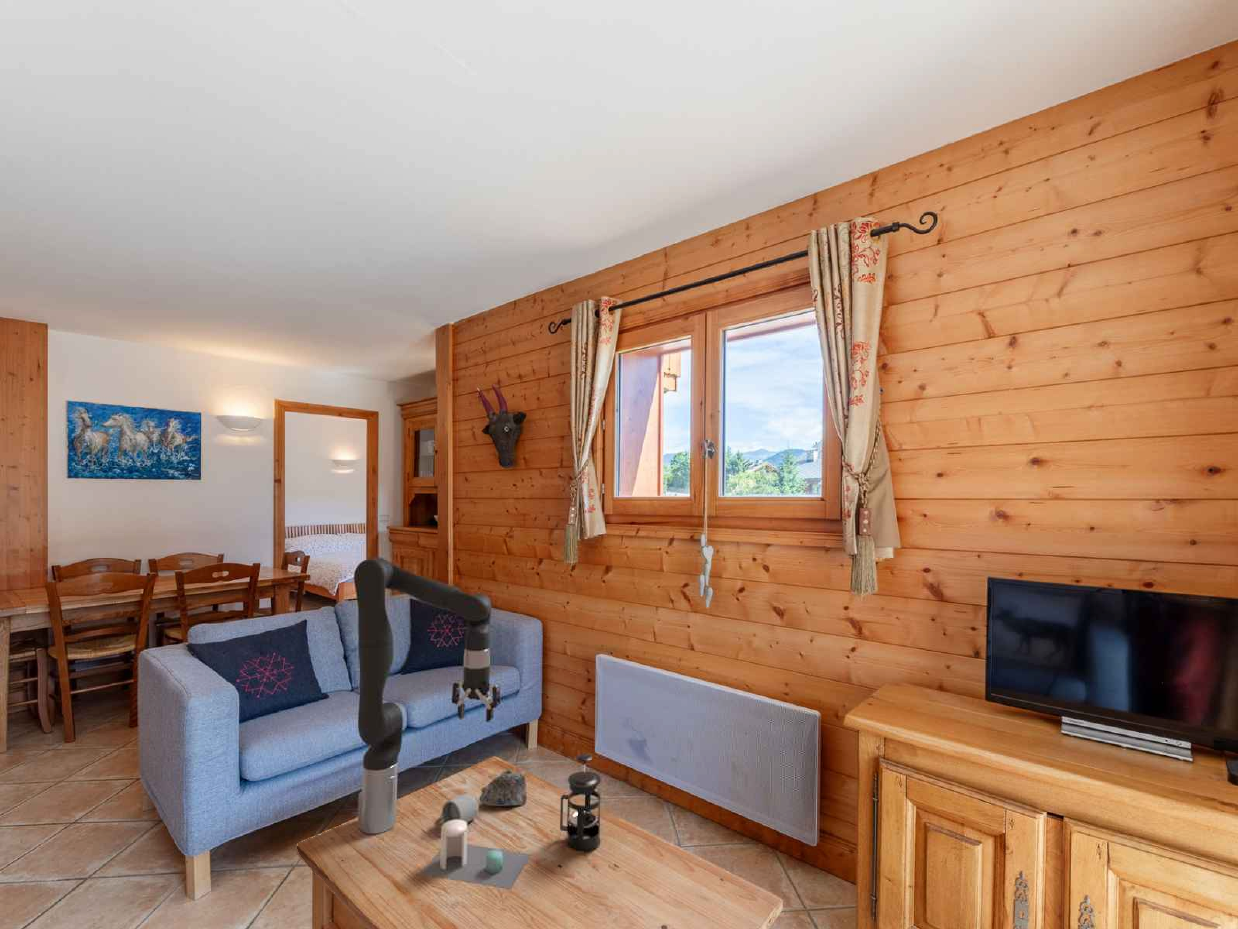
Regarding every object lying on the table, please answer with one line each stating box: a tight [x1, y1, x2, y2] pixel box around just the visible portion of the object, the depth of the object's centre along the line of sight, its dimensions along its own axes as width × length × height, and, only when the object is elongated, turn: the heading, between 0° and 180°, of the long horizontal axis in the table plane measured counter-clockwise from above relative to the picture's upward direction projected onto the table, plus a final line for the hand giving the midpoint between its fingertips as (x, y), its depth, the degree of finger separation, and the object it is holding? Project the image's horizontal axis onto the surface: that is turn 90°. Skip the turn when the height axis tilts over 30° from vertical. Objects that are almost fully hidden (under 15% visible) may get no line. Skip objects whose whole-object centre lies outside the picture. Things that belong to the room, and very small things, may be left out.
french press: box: [559, 753, 602, 853], centre depth 163 cm, size 12×9×23 cm
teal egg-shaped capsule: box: [486, 850, 503, 874], centre depth 150 cm, size 4×4×4 cm
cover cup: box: [440, 820, 468, 870], centre depth 152 cm, size 6×6×9 cm
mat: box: [419, 843, 532, 890], centre depth 152 cm, size 24×14×1 cm, turn 78°
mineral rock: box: [478, 768, 528, 807], centre depth 182 cm, size 13×11×10 cm
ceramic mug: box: [440, 792, 480, 824], centre depth 171 cm, size 11×8×8 cm
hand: (475, 719), depth 175 cm, fingers open, 8 cm apart
